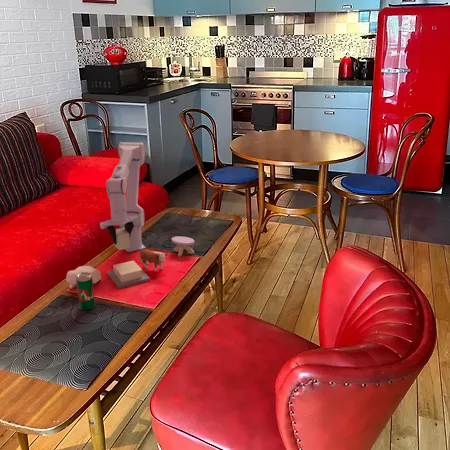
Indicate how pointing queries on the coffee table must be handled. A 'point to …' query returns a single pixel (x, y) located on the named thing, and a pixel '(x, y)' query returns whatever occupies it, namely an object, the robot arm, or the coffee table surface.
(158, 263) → the bull figurine
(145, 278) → the tower base
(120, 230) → the sage brick
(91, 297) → the soda can
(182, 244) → the toy table
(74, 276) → the white lumpy shape
